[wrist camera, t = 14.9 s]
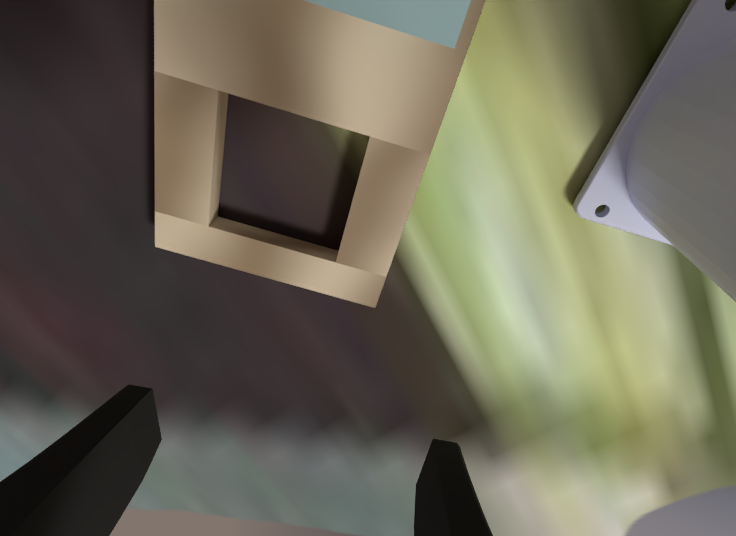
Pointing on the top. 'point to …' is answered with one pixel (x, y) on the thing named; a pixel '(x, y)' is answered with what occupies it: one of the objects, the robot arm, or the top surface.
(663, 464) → the top surface
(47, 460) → the robot arm
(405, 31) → the cover
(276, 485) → the top surface
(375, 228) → the board
